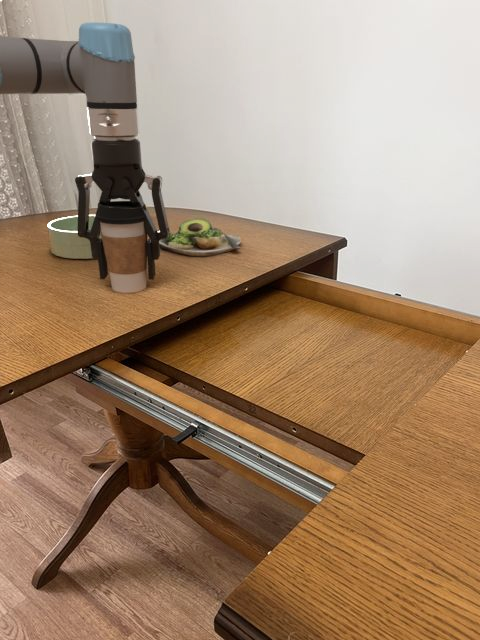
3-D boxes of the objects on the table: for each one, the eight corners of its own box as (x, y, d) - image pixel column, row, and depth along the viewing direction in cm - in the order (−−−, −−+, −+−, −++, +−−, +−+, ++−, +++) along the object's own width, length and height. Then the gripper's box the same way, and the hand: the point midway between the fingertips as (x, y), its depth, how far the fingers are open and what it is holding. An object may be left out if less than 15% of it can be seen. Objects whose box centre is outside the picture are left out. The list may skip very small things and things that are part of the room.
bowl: (41, 261, 109) (36, 231, 107) (64, 241, 123) (60, 214, 120) (117, 262, 110) (114, 232, 107) (131, 242, 124) (129, 215, 121)
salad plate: (264, 248, 121) (265, 228, 119) (204, 265, 109) (203, 243, 107) (206, 232, 132) (205, 213, 130) (146, 246, 121) (144, 225, 119)
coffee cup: (95, 287, 96) (85, 201, 90) (136, 277, 102) (129, 195, 95) (121, 300, 91) (112, 210, 84) (163, 289, 96) (157, 203, 90)
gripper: (41, 138, 82) (62, 283, 92) (178, 141, 82) (184, 284, 92) (56, 134, 88) (75, 269, 98) (183, 137, 89) (189, 270, 99)
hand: (128, 276), depth 95 cm, fingers closed on coffee cup, 8 cm apart
